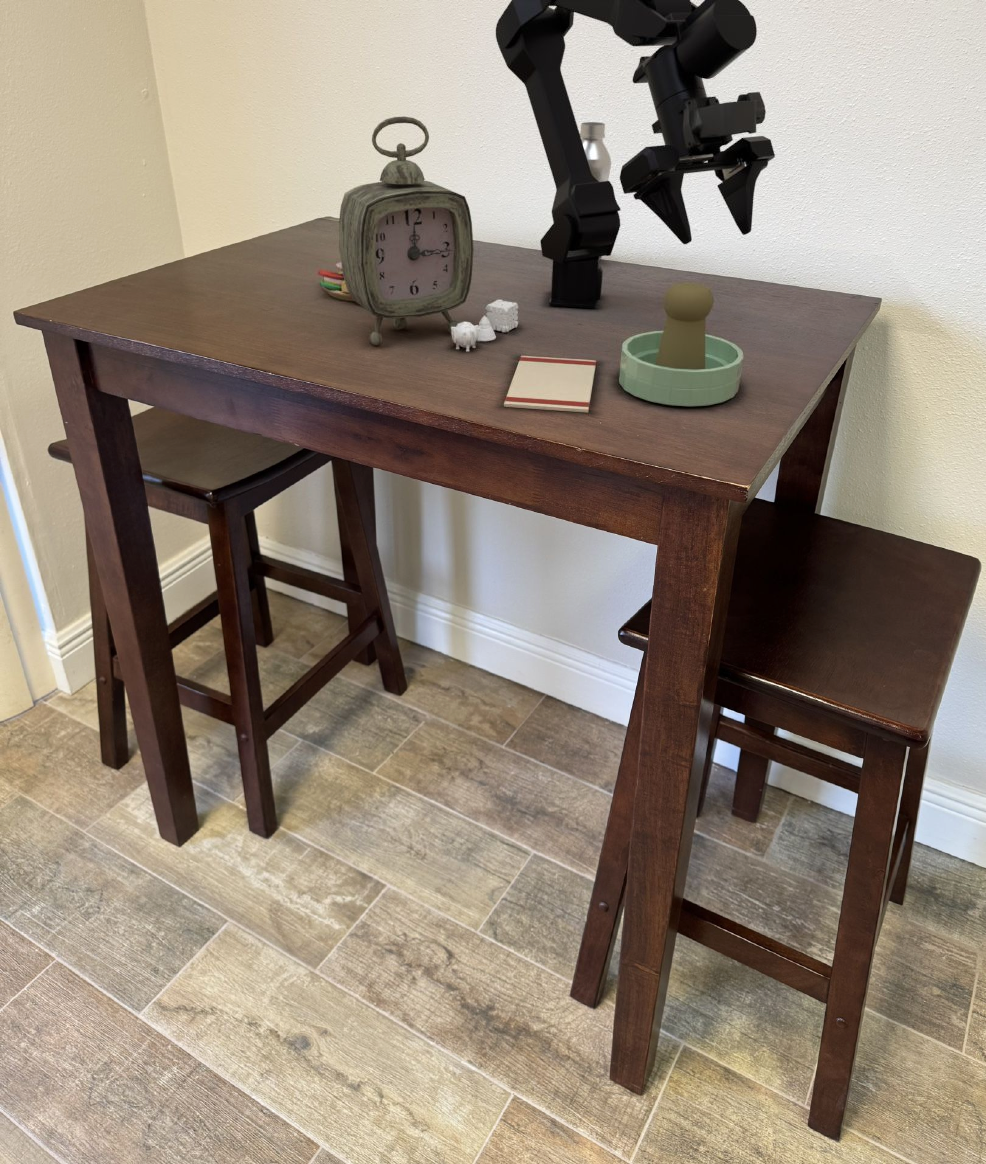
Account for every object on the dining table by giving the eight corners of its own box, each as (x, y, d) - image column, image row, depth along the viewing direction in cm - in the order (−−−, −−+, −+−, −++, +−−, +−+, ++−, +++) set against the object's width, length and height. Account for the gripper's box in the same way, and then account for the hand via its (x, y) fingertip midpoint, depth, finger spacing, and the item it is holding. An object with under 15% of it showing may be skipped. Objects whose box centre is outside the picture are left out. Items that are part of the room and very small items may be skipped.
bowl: (616, 404, 101) (620, 366, 99) (620, 361, 112) (624, 327, 110) (741, 412, 100) (747, 375, 97) (733, 369, 111) (738, 334, 108)
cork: (704, 395, 103) (719, 294, 97) (649, 390, 104) (660, 290, 98) (705, 376, 108) (719, 279, 102) (652, 371, 109) (663, 275, 103)
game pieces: (497, 323, 124) (497, 298, 122) (518, 327, 122) (519, 302, 120) (447, 349, 115) (446, 323, 113) (470, 354, 114) (470, 328, 112)
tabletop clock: (366, 352, 114) (352, 124, 100) (340, 330, 120) (324, 114, 107) (473, 335, 119) (473, 118, 106) (443, 315, 126) (440, 108, 112)
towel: (503, 406, 100) (503, 402, 100) (520, 358, 113) (521, 355, 112) (588, 412, 99) (588, 408, 99) (596, 363, 112) (596, 359, 111)
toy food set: (366, 311, 127) (364, 286, 125) (298, 292, 134) (296, 269, 132) (430, 289, 136) (429, 266, 134) (364, 273, 143) (362, 251, 141)
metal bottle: (608, 257, 152) (619, 122, 141) (598, 268, 147) (609, 127, 136) (570, 254, 154) (577, 119, 143) (559, 264, 149) (566, 125, 138)
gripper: (661, 64, 94) (704, 217, 95) (791, 58, 103) (828, 198, 104) (599, 120, 104) (638, 258, 105) (722, 111, 113) (757, 239, 114)
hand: (718, 237), depth 107 cm, fingers open, 9 cm apart
